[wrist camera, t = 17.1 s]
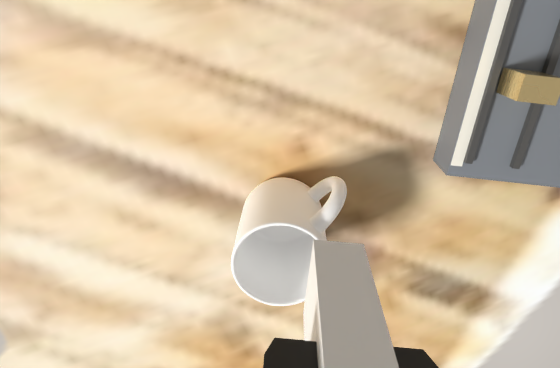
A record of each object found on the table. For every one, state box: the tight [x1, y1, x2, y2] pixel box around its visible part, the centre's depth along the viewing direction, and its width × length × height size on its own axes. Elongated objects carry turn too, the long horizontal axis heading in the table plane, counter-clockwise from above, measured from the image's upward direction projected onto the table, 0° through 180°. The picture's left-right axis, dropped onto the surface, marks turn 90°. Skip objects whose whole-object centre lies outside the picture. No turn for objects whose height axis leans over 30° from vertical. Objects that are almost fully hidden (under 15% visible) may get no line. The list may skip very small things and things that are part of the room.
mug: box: [231, 176, 347, 306], centre depth 40 cm, size 12×8×10 cm
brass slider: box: [496, 68, 560, 106], centre depth 33 cm, size 2×3×4 cm, turn 84°
